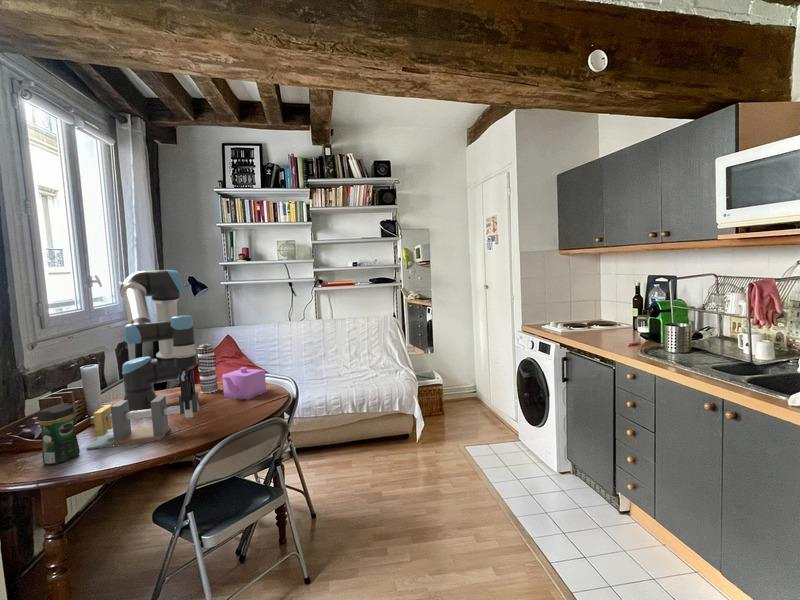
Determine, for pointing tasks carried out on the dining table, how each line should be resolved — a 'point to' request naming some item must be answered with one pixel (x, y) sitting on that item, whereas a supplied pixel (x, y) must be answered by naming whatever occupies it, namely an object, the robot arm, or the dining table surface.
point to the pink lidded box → (244, 383)
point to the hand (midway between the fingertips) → (190, 415)
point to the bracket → (129, 436)
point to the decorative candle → (207, 368)
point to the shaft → (165, 410)
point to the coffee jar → (58, 433)
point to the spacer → (102, 420)
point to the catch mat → (102, 442)
